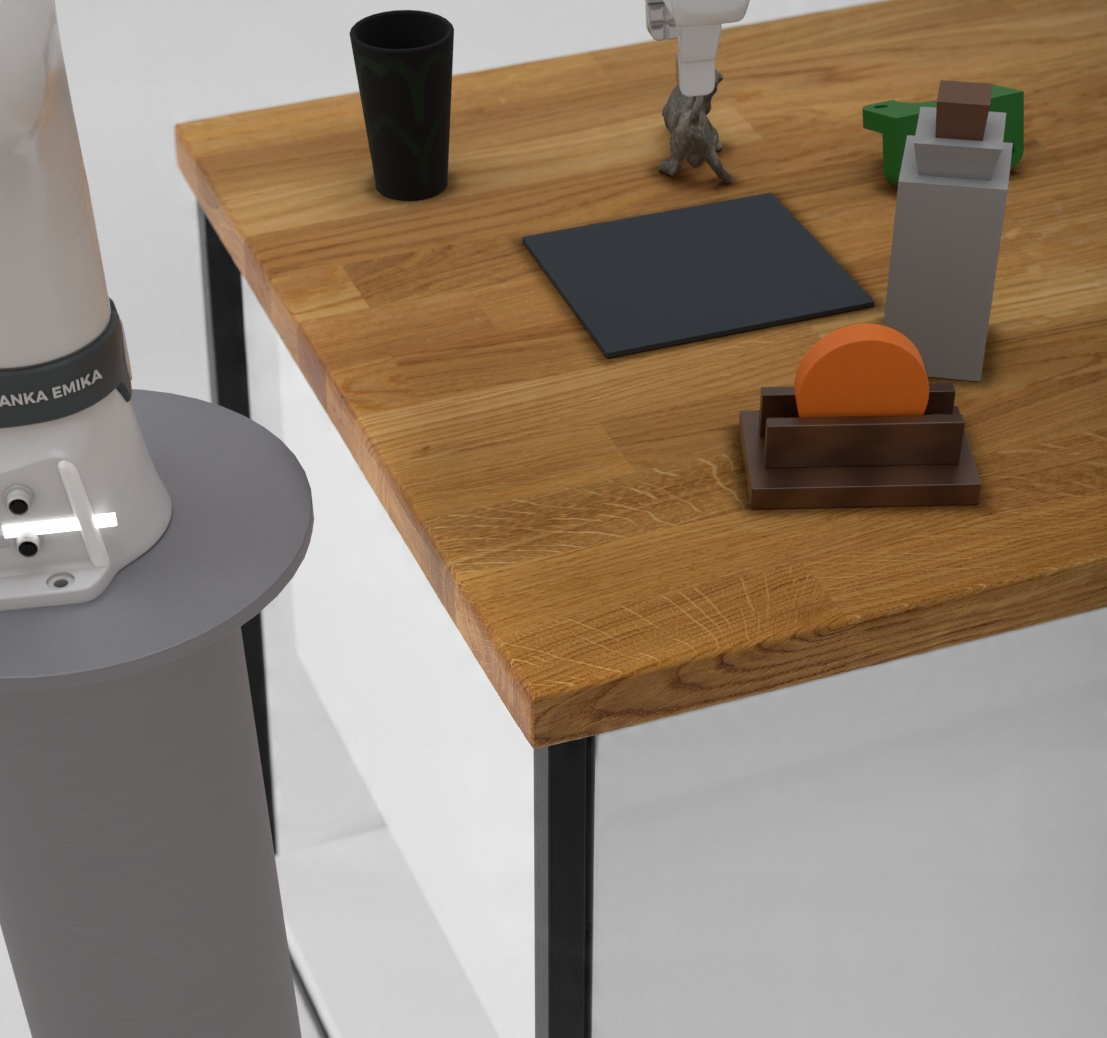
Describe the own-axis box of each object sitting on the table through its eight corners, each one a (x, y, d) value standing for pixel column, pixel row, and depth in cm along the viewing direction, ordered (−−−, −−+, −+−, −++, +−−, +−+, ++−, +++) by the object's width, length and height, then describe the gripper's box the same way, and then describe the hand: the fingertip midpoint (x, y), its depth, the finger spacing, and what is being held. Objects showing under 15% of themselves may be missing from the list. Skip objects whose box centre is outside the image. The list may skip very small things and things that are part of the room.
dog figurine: (733, 194, 157) (737, 100, 152) (657, 194, 158) (659, 100, 153) (729, 127, 166) (733, 35, 161) (658, 126, 166) (660, 35, 161)
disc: (795, 457, 128) (799, 343, 123) (791, 440, 129) (796, 326, 124) (924, 451, 128) (934, 336, 122) (919, 434, 129) (929, 319, 124)
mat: (607, 358, 140) (607, 353, 140) (522, 241, 152) (522, 236, 152) (874, 306, 144) (874, 301, 144) (770, 197, 157) (771, 192, 157)
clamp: (960, 203, 165) (997, 86, 162) (1002, 216, 160) (1041, 96, 157) (836, 169, 160) (873, 48, 157) (876, 182, 155) (914, 57, 152)
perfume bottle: (985, 331, 142) (1022, 74, 129) (980, 381, 137) (1017, 119, 125) (887, 322, 143) (914, 66, 131) (878, 372, 138) (905, 111, 126)
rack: (750, 509, 126) (754, 446, 123) (738, 430, 133) (741, 368, 130) (978, 504, 126) (988, 441, 123) (955, 425, 133) (963, 364, 130)
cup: (477, 172, 161) (471, 18, 153) (433, 213, 156) (425, 57, 148) (390, 155, 163) (379, 3, 155) (344, 196, 158) (330, 41, 150)
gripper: (582, -257, 109) (593, 11, 118) (644, -172, 93) (651, 132, 102) (699, -267, 110) (701, 1, 118) (781, -184, 94) (777, 120, 102)
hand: (679, 63), depth 110 cm, fingers open, 8 cm apart
